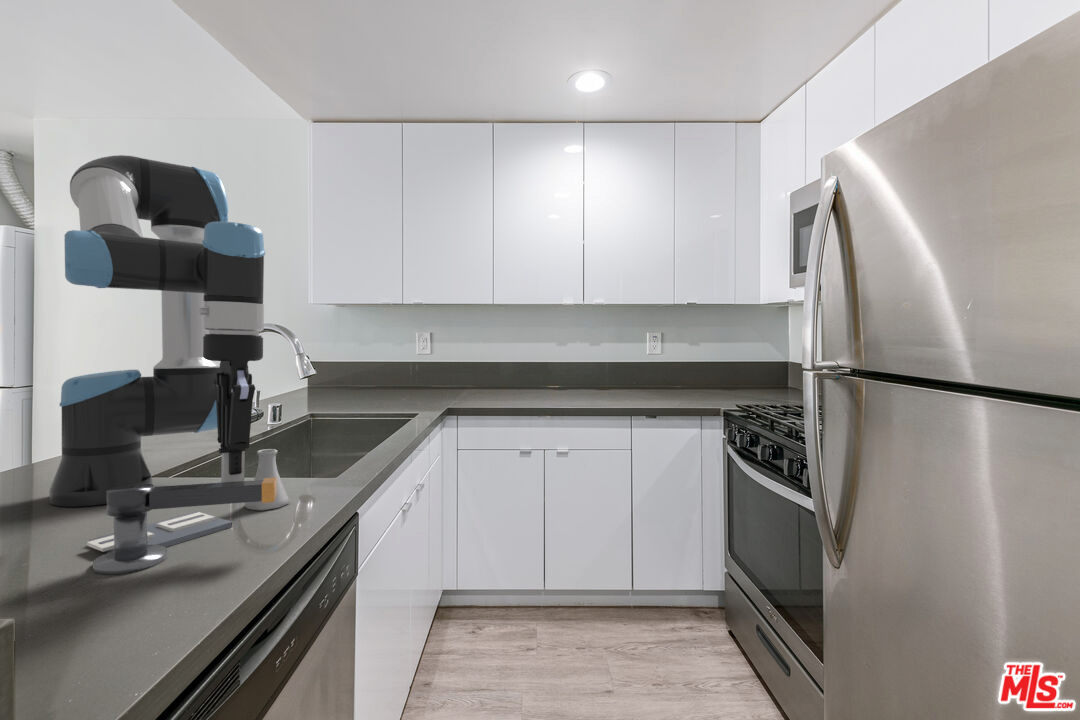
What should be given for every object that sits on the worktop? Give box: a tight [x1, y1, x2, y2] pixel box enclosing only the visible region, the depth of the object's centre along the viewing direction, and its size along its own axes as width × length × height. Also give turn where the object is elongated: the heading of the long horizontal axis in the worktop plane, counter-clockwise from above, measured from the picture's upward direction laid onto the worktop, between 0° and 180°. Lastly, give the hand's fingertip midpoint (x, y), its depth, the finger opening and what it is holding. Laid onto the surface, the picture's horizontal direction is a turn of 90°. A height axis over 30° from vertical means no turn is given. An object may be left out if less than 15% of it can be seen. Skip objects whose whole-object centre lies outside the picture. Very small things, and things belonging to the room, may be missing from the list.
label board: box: [86, 511, 233, 553], centre depth 82 cm, size 10×16×1 cm, turn 152°
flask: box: [243, 448, 291, 511], centre depth 98 cm, size 7×7×10 cm
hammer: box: [106, 477, 277, 518], centre depth 76 cm, size 20×5×3 cm, turn 110°
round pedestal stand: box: [92, 512, 168, 576], centre depth 73 cm, size 8×8×6 cm
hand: (232, 494), depth 79 cm, fingers closed
